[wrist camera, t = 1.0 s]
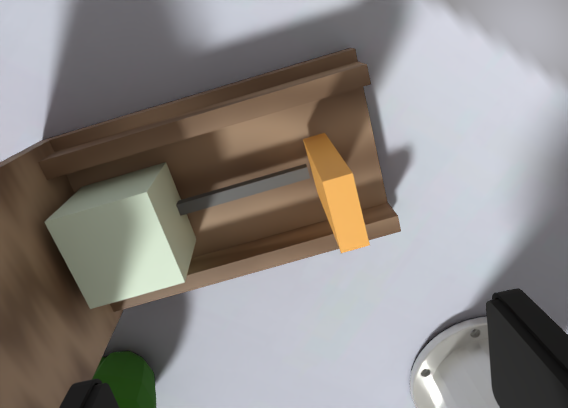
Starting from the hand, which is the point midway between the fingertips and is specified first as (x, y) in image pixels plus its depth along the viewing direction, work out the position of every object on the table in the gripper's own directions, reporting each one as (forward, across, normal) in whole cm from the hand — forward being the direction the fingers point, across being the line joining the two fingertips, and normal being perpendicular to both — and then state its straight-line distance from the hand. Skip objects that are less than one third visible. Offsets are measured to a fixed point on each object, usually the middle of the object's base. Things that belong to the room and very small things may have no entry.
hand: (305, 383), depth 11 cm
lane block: (+21, +5, +1) cm, 22 cm away
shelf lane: (+23, +4, +1) cm, 23 cm away
